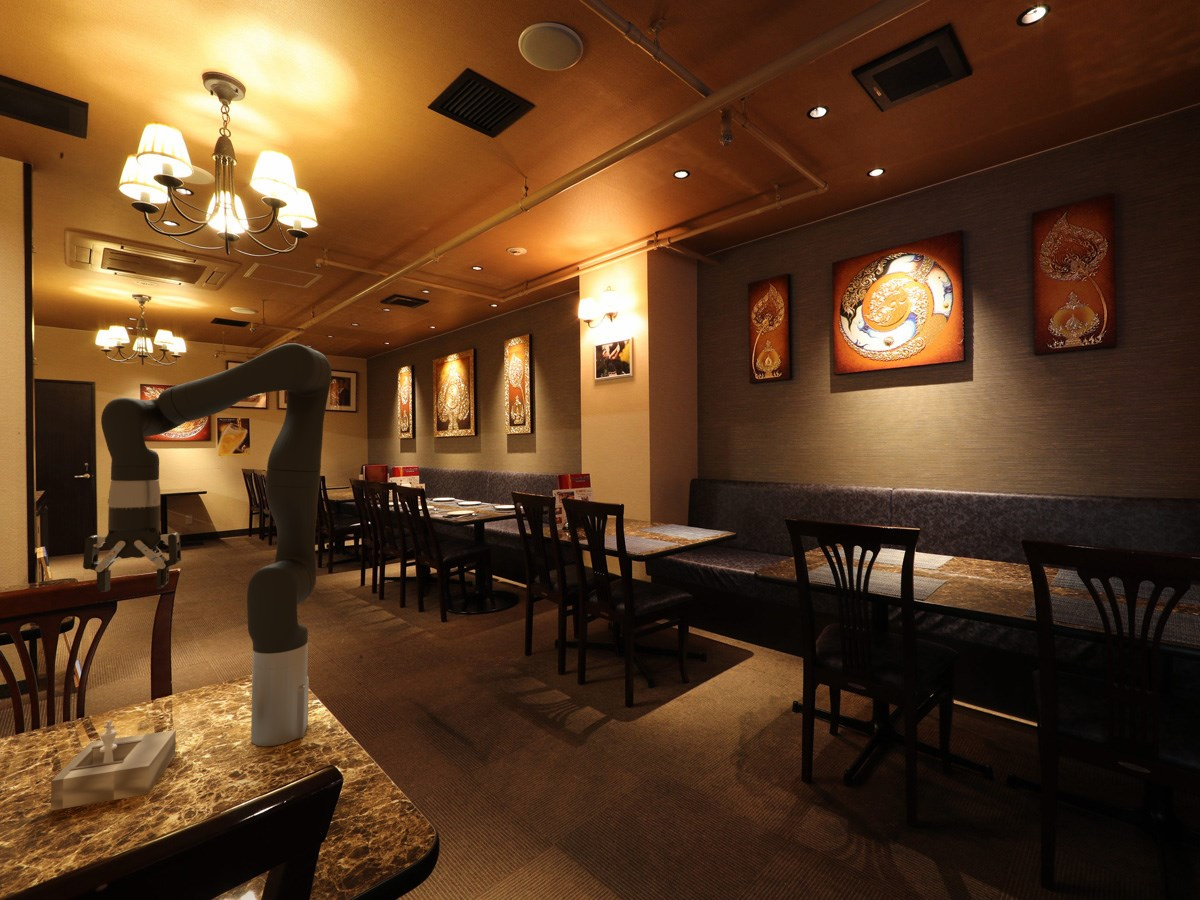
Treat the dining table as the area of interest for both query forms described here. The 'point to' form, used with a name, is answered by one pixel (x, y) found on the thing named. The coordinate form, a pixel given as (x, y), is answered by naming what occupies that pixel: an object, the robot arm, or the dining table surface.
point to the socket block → (113, 770)
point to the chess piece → (108, 742)
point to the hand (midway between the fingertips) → (133, 589)
